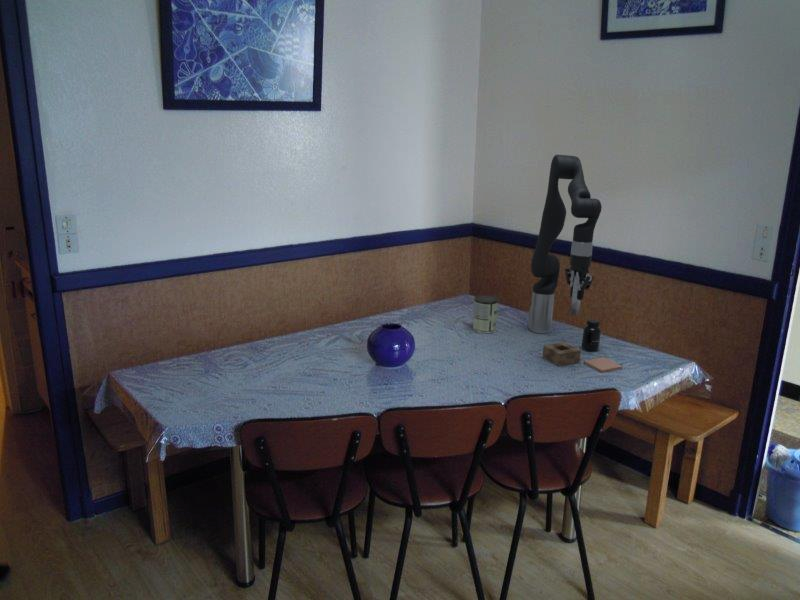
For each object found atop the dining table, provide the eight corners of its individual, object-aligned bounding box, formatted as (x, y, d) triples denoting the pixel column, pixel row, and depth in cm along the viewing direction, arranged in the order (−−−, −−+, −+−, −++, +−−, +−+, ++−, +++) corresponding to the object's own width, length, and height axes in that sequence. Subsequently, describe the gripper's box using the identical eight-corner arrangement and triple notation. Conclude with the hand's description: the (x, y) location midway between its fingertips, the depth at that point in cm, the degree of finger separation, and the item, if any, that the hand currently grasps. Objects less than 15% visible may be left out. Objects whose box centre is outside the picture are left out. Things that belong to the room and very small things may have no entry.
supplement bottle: (594, 353, 274) (598, 324, 270) (578, 349, 278) (581, 320, 274) (601, 348, 279) (604, 320, 275) (585, 344, 283) (588, 316, 279)
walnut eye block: (542, 357, 268) (543, 345, 266) (562, 353, 272) (563, 341, 271) (558, 366, 259) (560, 354, 258) (579, 362, 264) (581, 350, 262)
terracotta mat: (583, 363, 263) (583, 360, 263) (603, 359, 268) (603, 357, 267) (601, 372, 255) (602, 370, 254) (622, 368, 259) (622, 366, 259)
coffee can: (474, 324, 303) (476, 293, 299) (497, 326, 301) (499, 295, 297) (470, 332, 293) (472, 300, 289) (495, 334, 291) (497, 302, 287)
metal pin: (568, 313, 260) (572, 272, 255) (575, 312, 261) (579, 272, 256) (574, 315, 257) (578, 274, 252) (580, 314, 258) (585, 274, 254)
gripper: (560, 249, 257) (556, 294, 261) (586, 258, 244) (581, 304, 249) (576, 248, 260) (572, 292, 265) (602, 256, 248) (597, 302, 253)
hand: (576, 298), depth 257 cm, fingers closed on metal pin, 3 cm apart
